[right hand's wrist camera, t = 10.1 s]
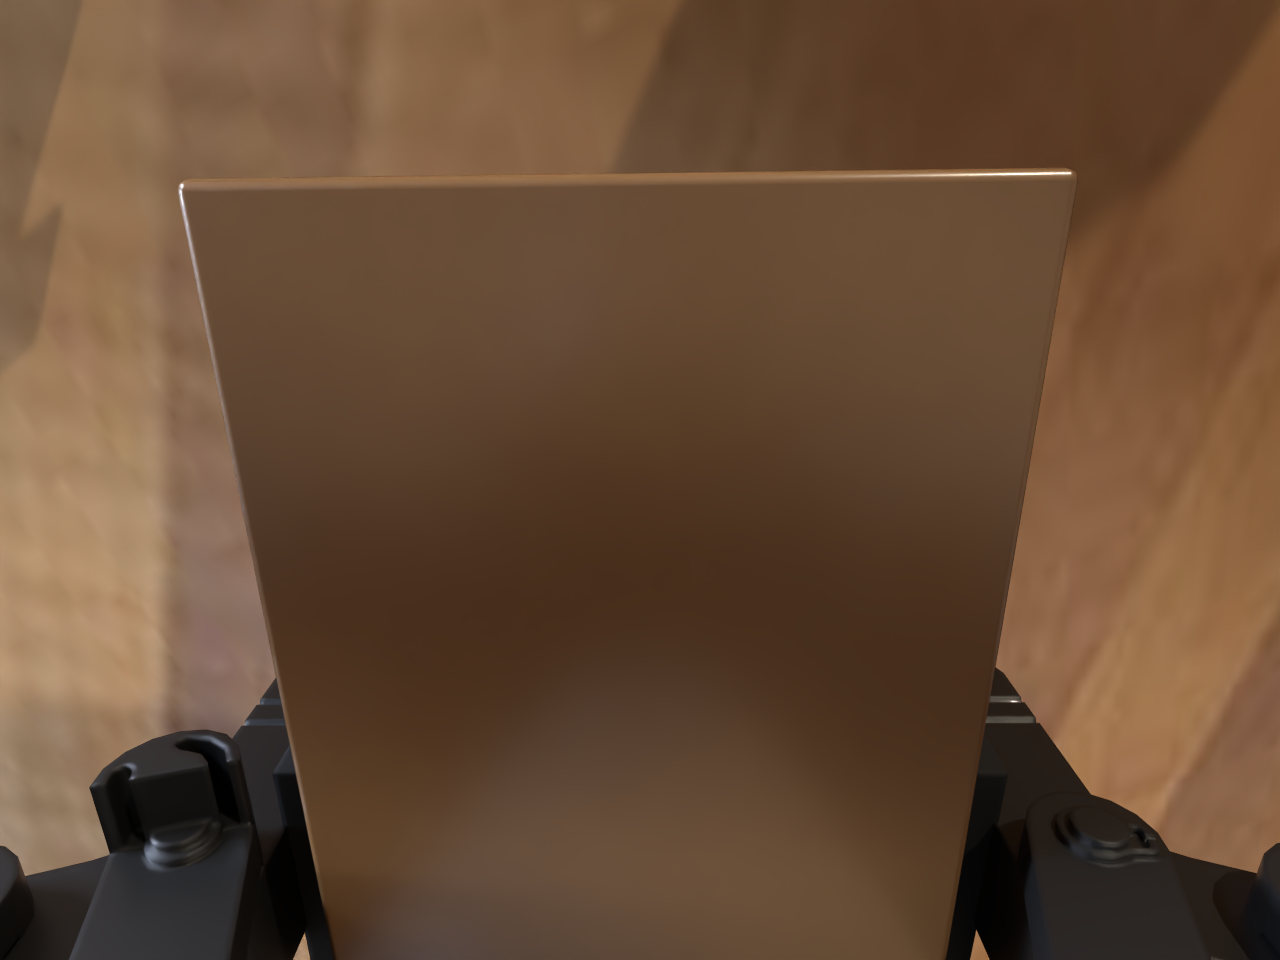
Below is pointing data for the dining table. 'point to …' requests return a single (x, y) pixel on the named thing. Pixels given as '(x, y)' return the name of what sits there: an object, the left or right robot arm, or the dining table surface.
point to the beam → (633, 541)
